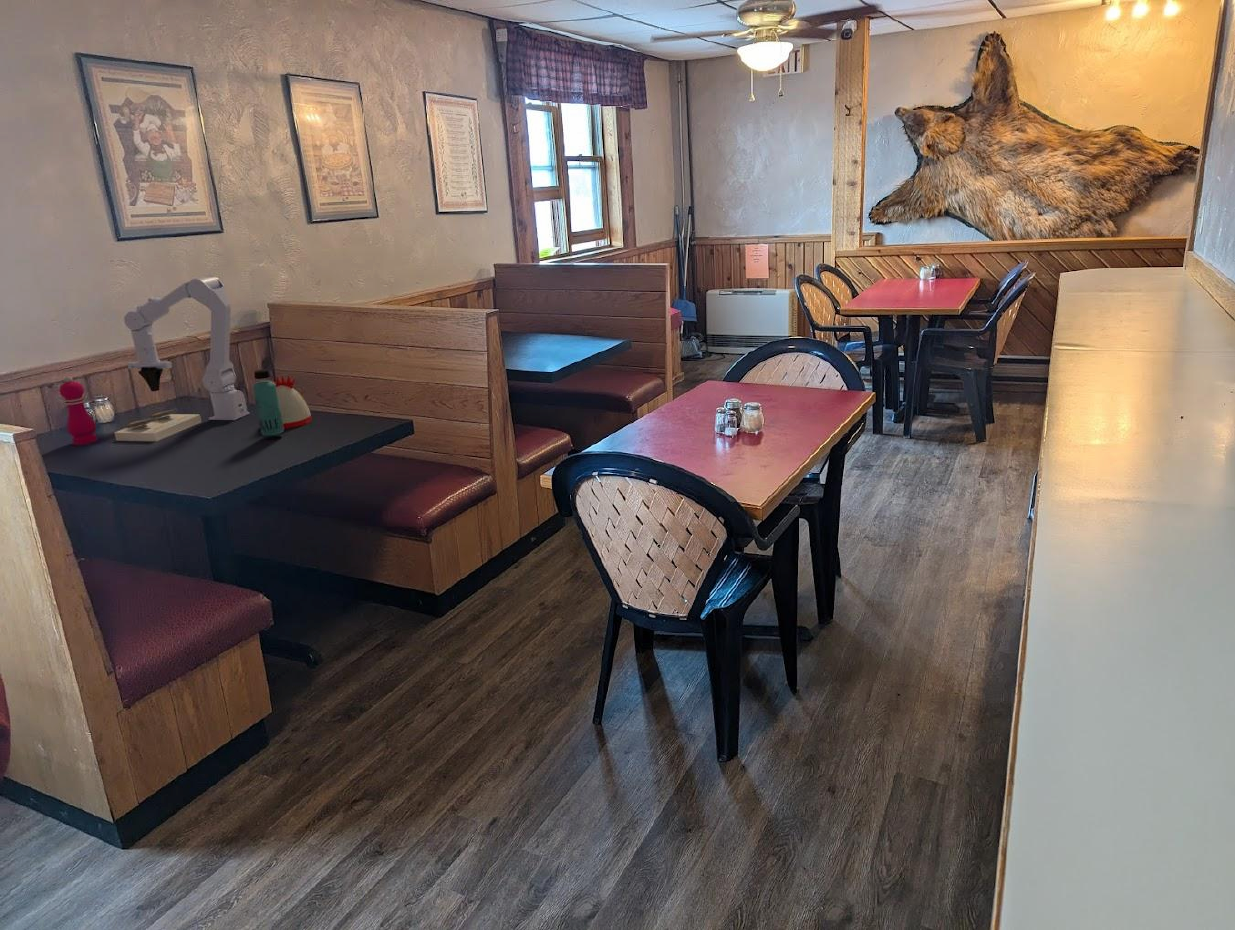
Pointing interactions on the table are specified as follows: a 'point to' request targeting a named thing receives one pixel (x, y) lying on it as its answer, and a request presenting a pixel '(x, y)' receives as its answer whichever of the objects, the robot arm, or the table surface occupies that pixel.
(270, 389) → the beverage bottle
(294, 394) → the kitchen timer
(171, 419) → the switch console
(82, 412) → the pepper mill
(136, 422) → the block
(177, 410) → the block
